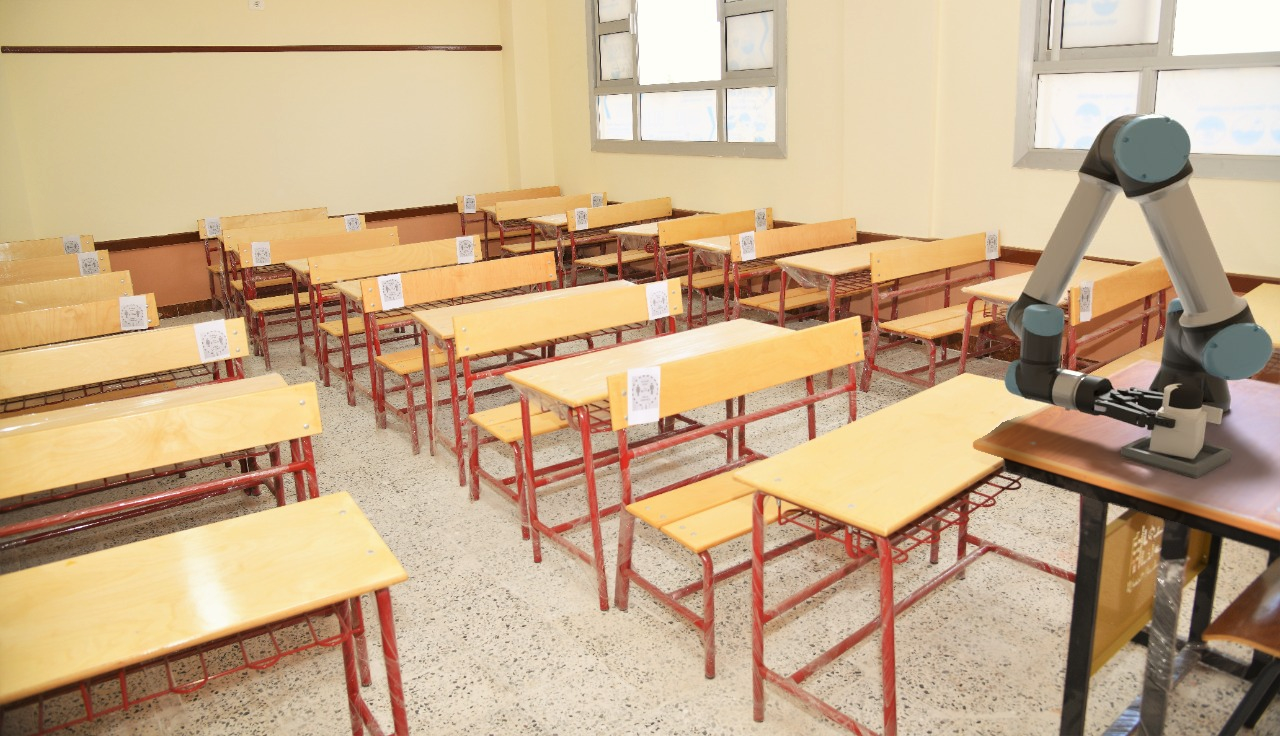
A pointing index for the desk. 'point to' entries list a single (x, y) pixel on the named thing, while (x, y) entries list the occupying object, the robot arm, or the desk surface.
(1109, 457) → the desk surface
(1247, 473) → the desk surface
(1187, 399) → the medicine bottle
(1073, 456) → the desk surface
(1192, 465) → the bottle tray
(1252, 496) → the desk surface
